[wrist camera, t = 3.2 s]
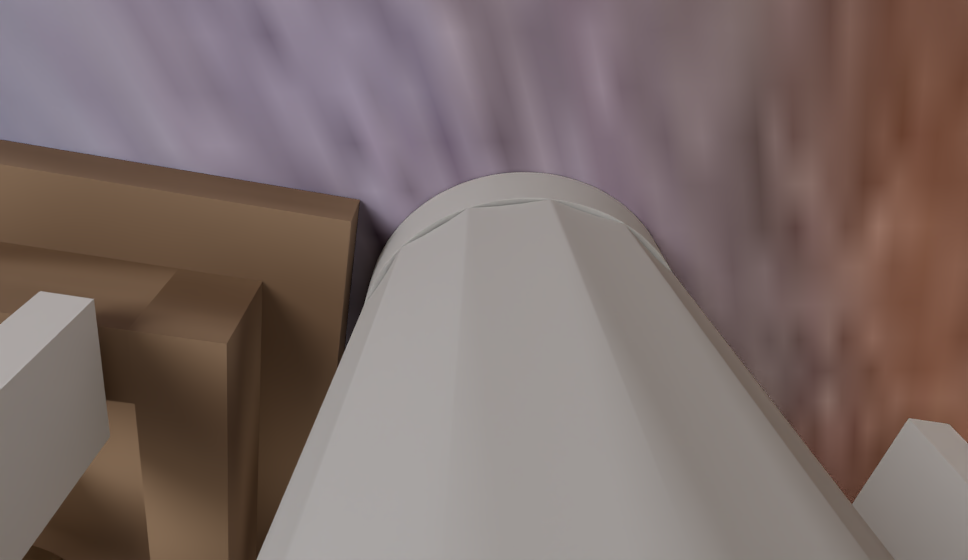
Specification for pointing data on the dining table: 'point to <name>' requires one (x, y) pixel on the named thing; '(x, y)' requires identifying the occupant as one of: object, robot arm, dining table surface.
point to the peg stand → (182, 341)
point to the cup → (548, 405)
